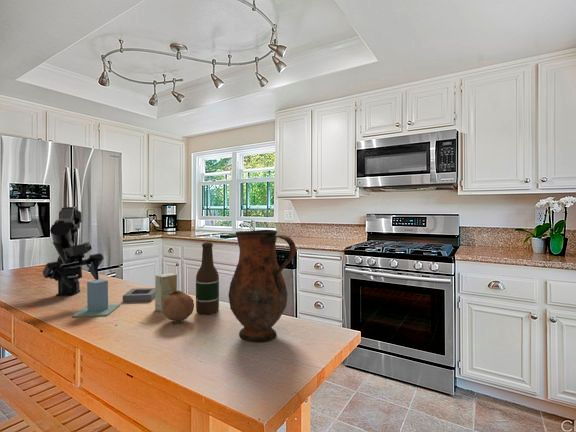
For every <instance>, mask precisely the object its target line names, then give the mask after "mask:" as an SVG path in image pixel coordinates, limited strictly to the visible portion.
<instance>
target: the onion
mask: <svg viewBox="0 0 576 432" xmlns="http://www.w3.org/2000/svg"><path fill="white" fill-rule="evenodd" d="M194 309H195V303H194V299H193V298H192V296H191V295H190V294H189V295H188V294H187V293H185V292H183V291H182V290H177V291H174V292H173V293H170V294H169V296H168V297H167V298H166V299H165V300H164V302H163V305H162V310H163V311H162V313H163V315H164V317H165V318H166V319H168V320H170V321H174V322H177V323H181V322H184V321H185V320H187V319H188V317H190V316H191V315H193V311H194Z"/></svg>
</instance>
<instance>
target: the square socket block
mask: <svg viewBox="0 0 576 432" xmlns="http://www.w3.org/2000/svg"><path fill="white" fill-rule="evenodd" d="M153 300H155V287H150V288H149V287H143V288H142V287H141V288H140V287H139V288H131V289H129V290H128V291H126V293H124V294H123V295H122V303H138V302H139V303H140V302H142V303H144V302H153Z"/></svg>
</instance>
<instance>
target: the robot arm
mask: <svg viewBox="0 0 576 432" xmlns="http://www.w3.org/2000/svg"><path fill="white" fill-rule="evenodd" d="M82 222H83V215H82V212H81V211H80V210H78V209H77V208H76V207H74V206H64V207H61V210H60V211H59V212H58V219H56V220H55V221H54V223H53V224H52V225H51V227H50V230H49V231H50V235H51V238H52V245H53V246H54V248H55V250H56V252H57V254H58V257H57V260H56V261H51V262H50V261H49V262H47V263H46V264H45V267H44V268H43V270H42V276H43V277H44V278H45V279H50V280H52V279H53V280H55V282H56V281H57V292H58V293H56V294H55V296H73V295H76V294H77V293H79V292H81V289H80V279H82V278H83V270H82V266H83V267H84V266H87V268H88V269H87V270H88V271H89V273H90V274H91V275H92V278H93V279H94V280H98V279H100V278H99V266H100V265H101V263H102V262H103V260H104V259H105V257H104V255H103V254H102V253H93V254H90V255H89V257H87V259H83V258H85V257H86V256H85V254H87V253H89V252H90V251H92V249H93V248H92V245H91V244H90V242H89V241H86V242H83V243H81V244H76V236H77V235H76V234H77V232H78V231H79V229H80V228H81V223H82Z"/></svg>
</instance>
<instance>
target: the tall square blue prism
mask: <svg viewBox="0 0 576 432" xmlns="http://www.w3.org/2000/svg"><path fill="white" fill-rule="evenodd" d="M108 281H109V280H107V279H101V278H99V279H98V280H95V279H94V280H90V281H87V282H86V288H87V290H86V291H87V292H86V293H87V294H86V295H87V297H86V299H87V301H86V303H87V304H86V307H87V309H88V311H91V312H95V313H96V312H99V311H102V310H106V309H108V305H109V282H108Z"/></svg>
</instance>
